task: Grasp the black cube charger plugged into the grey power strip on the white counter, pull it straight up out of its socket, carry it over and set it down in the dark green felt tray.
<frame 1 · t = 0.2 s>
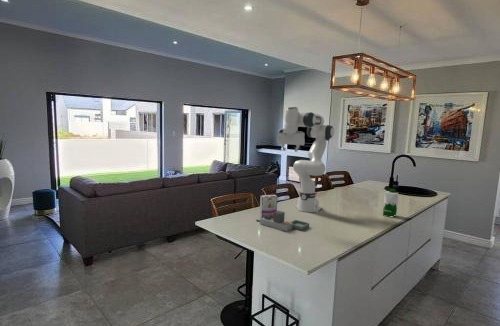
hand: (289, 151, 201), 48 cm above the worktop, fingers open, 8 cm apart
candy bar box: (267, 218, 204), on the worktop
milk carton: (389, 215, 223), on the worktop
felt tray: (298, 226, 188), on the worktop
power strip: (275, 226, 188), on the worktop
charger: (278, 224, 187), point 2 cm above the worktop, touching power strip
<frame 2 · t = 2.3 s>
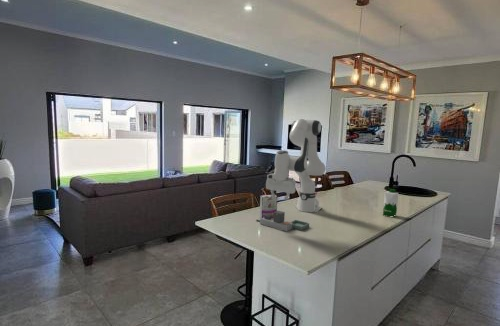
hand: (279, 198, 185), 19 cm above the worktop, fingers open, 8 cm apart
nothing on the worktop moved.
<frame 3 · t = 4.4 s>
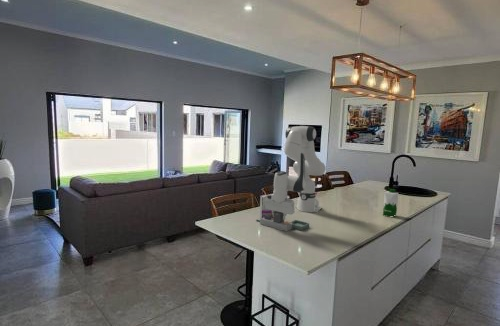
hand: (278, 218, 186), 6 cm above the worktop, fingers closed on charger, 5 cm apart
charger: (278, 224, 187), point 2 cm above the worktop, touching gripper, power strip
everything else where it was.
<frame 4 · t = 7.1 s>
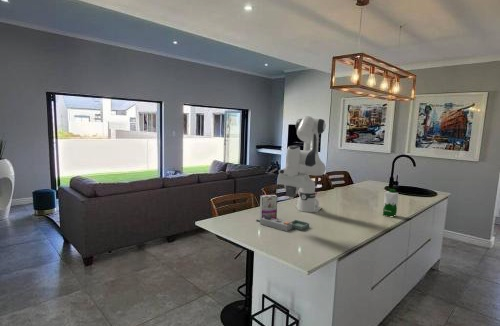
hand: (291, 192, 186), 22 cm above the worktop, fingers closed on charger, 5 cm apart
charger: (291, 198, 186), point 18 cm above the worktop, touching gripper
everything else where it was.
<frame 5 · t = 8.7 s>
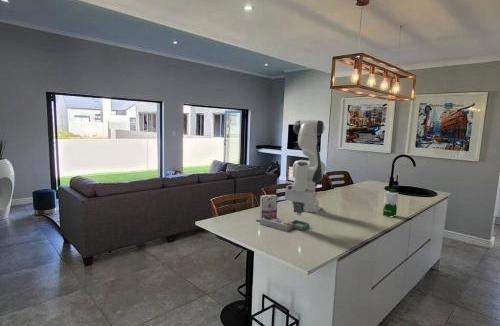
hand: (299, 208, 186), 12 cm above the worktop, fingers closed on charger, 5 cm apart
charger: (298, 214, 187), point 8 cm above the worktop, touching gripper
everything else where it was.
when the fingers open (7 cm above the worktop, at t = 10.1 s): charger drops 2 cm, resting on felt tray.
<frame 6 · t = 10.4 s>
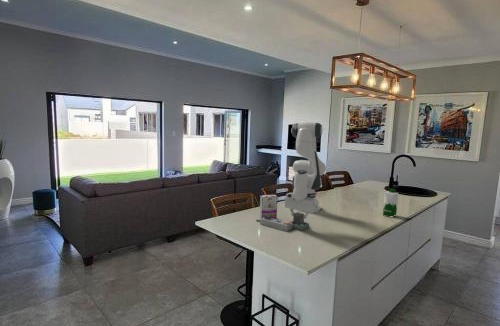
hand: (298, 216, 187), 7 cm above the worktop, fingers open, 7 cm apart
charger: (298, 225, 188), point 1 cm above the worktop, touching felt tray
everything else where it was.
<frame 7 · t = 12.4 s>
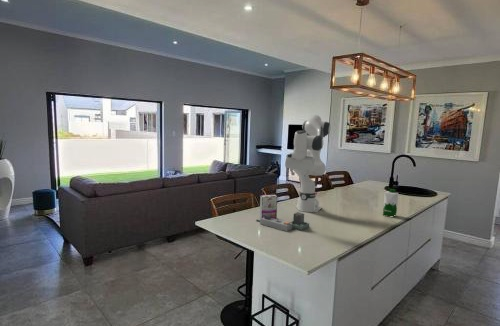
hand: (299, 176, 194), 32 cm above the worktop, fingers open, 8 cm apart
nothing on the worktop moved.
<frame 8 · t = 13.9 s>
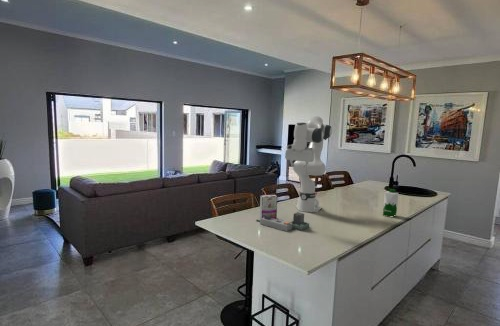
hand: (298, 167, 196), 37 cm above the worktop, fingers open, 8 cm apart
nothing on the worktop moved.
at the end: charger inside the target area on the felt tray (0.0 cm from its centre), point 0.8 cm above the felt tray's base; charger moved 12.9 cm from its start; the gripper is holding nothing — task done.
